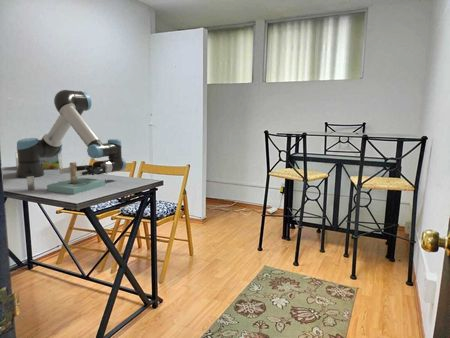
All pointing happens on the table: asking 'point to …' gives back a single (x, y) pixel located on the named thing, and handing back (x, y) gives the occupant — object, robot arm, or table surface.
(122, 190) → the table surface
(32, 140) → the robot arm
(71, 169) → the tall pin
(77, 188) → the hole plate
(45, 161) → the snack box
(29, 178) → the short pin
